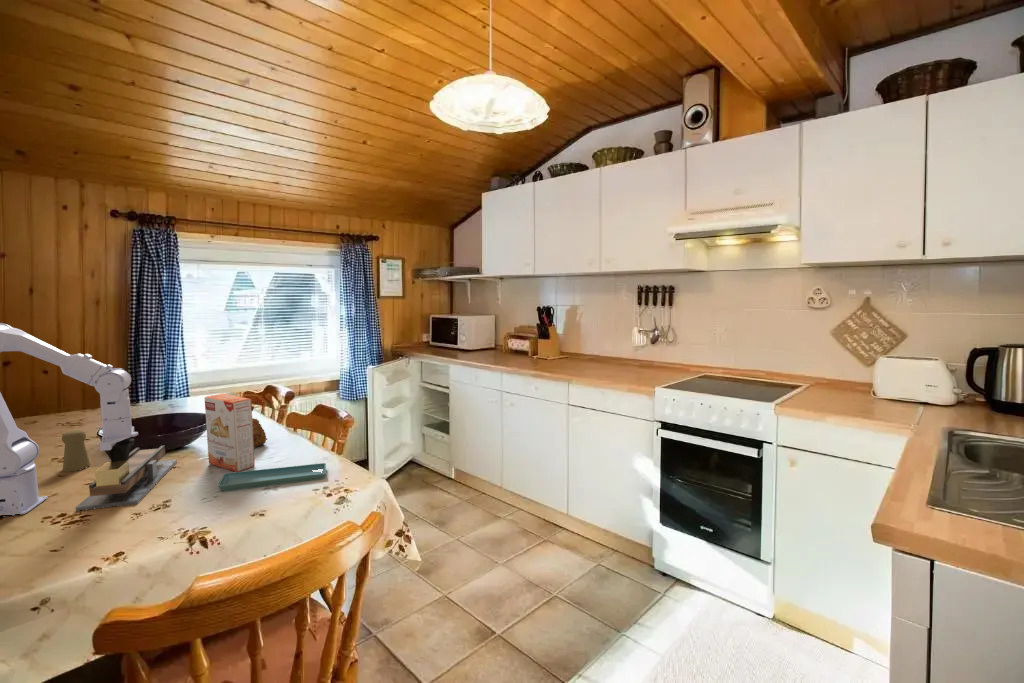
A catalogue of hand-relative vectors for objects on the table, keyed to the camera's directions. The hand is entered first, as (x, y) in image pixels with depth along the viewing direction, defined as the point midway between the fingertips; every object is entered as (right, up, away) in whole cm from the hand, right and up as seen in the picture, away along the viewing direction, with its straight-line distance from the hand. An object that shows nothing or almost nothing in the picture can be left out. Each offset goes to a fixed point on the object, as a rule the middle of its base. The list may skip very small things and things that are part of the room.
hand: (120, 469), depth 121 cm
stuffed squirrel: (+11, -3, +40) cm, 41 cm away
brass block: (+1, -2, -4) cm, 4 cm away
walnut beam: (-2, -2, +6) cm, 7 cm away
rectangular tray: (+34, -6, +11) cm, 37 cm away
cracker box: (+16, -5, +21) cm, 27 cm away
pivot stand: (-2, -6, +7) cm, 9 cm away
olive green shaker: (-27, -5, +18) cm, 33 cm away
